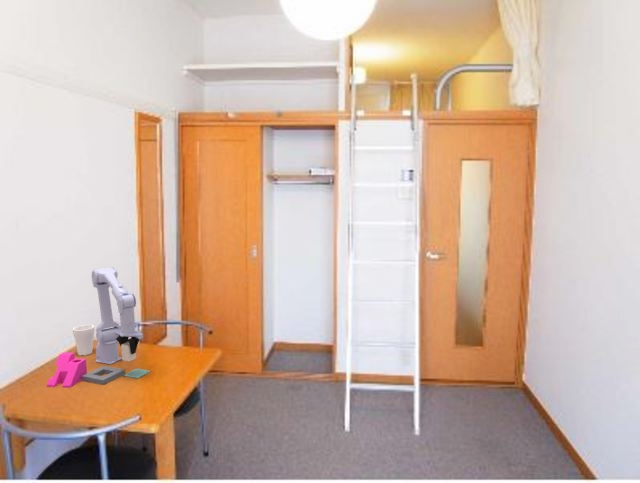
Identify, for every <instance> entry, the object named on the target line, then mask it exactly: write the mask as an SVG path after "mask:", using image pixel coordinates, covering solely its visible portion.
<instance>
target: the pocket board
mask: <svg viewBox="0 0 640 483" xmlns="http://www.w3.org/2000/svg"><path fill="white" fill-rule="evenodd" d="M125 372H126V371H125V369H123V368H117V367H112V366H108V365H107V366H106V365H103V366H99V367H98V368H96V369H94V370H91V371H90V372H87V374H85V375H83V376H82V380H81V381H83V382H87V383H93V384H97V385H106V384H108V383H110V382H112V381H113V380H116V379H117V378H118V379H119V378H120V377H122V376H123V375H124V374H126V373H125Z"/></svg>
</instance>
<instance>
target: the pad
mask: <svg viewBox="0 0 640 483" xmlns="http://www.w3.org/2000/svg"><path fill="white" fill-rule="evenodd" d="M150 373H152V372H151V370H148V369H147V370H146V369H141V368H135V369H133V370H130V371H129V372H127V373H125V374H124V375H122V376H123V377H127V378H132V379H137V380H139V379H140V378H143V377H144V376H146V375H148V374H150Z"/></svg>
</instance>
